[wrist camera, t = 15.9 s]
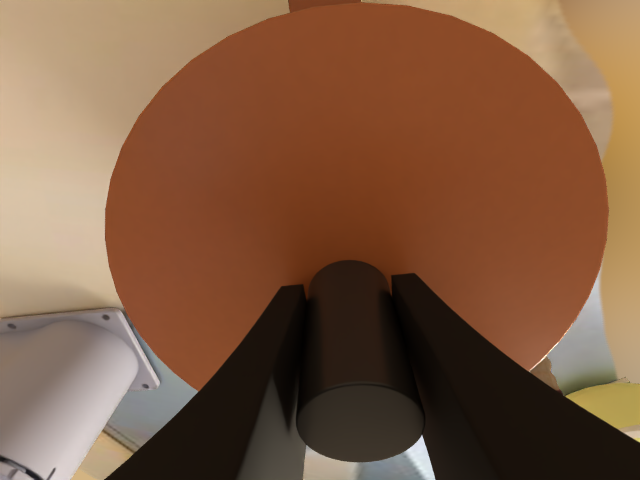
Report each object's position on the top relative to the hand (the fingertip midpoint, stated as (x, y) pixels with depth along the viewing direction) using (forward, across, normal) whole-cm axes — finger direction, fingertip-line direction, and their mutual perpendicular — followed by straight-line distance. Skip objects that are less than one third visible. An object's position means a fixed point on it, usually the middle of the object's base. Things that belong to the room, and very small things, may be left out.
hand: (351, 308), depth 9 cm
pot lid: (+1, 0, 0) cm, 1 cm away
